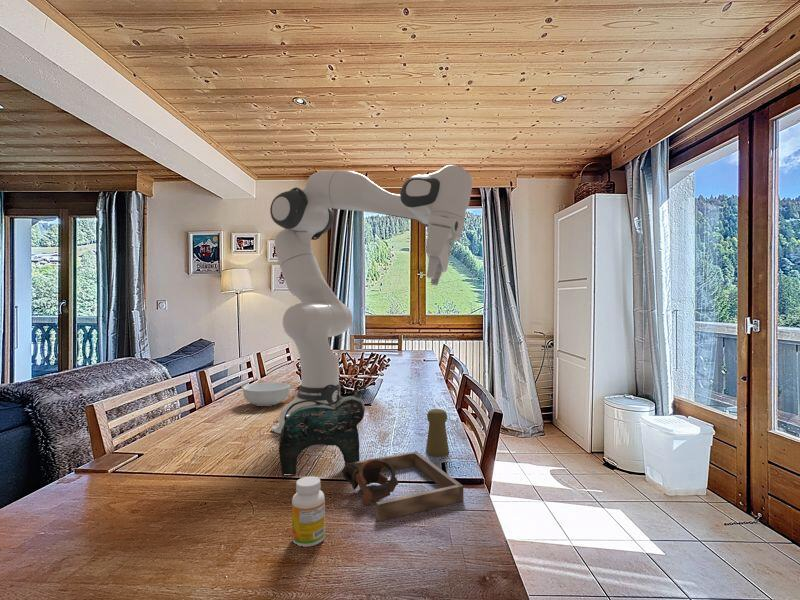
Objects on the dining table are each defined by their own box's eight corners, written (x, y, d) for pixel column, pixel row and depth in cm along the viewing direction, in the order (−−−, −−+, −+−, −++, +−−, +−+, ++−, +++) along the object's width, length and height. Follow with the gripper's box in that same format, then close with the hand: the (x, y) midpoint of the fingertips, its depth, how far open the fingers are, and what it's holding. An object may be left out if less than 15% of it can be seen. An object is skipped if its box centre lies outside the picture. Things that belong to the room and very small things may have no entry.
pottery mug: (400, 486, 93) (405, 461, 89) (386, 526, 85) (391, 500, 81) (348, 468, 96) (350, 443, 91) (330, 505, 88) (332, 479, 83)
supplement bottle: (295, 530, 75) (294, 475, 75) (326, 529, 76) (325, 473, 76) (289, 548, 70) (289, 488, 70) (323, 546, 70) (323, 487, 70)
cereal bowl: (263, 412, 152) (263, 392, 152) (233, 406, 161) (233, 387, 161) (299, 402, 166) (299, 384, 166) (270, 397, 175) (269, 379, 175)
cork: (448, 457, 109) (447, 413, 109) (424, 455, 110) (423, 412, 110) (450, 448, 115) (449, 407, 114) (427, 447, 116) (427, 406, 116)
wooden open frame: (416, 463, 105) (416, 451, 105) (463, 501, 85) (463, 486, 85) (344, 476, 97) (344, 463, 97) (378, 521, 78) (378, 504, 78)
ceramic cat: (364, 462, 106) (363, 380, 106) (367, 473, 99) (366, 386, 99) (280, 468, 102) (279, 384, 102) (277, 480, 96) (276, 390, 96)
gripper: (436, 238, 120) (424, 286, 119) (428, 213, 100) (414, 270, 99) (458, 242, 119) (447, 291, 118) (455, 218, 99) (441, 276, 98)
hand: (432, 281), depth 108 cm, fingers open, 8 cm apart
